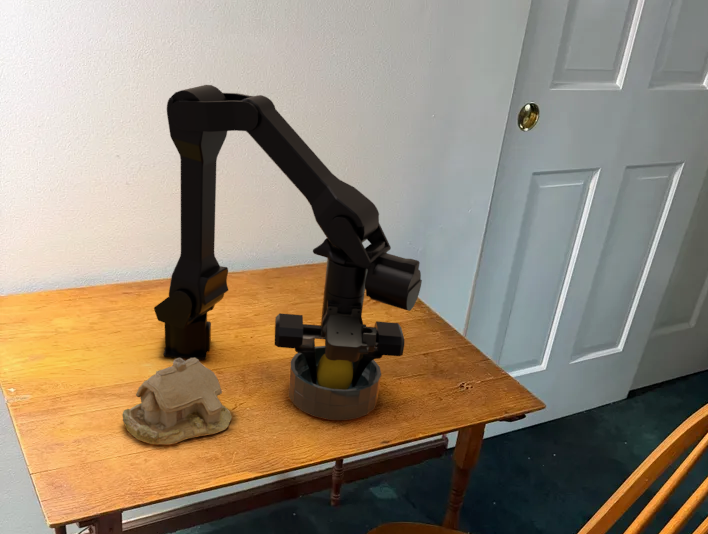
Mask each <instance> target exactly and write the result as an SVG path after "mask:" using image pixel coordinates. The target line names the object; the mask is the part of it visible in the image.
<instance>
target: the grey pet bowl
mask: <svg viewBox="0 0 708 534" xmlns="http://www.w3.org/2000/svg"><path fill="white" fill-rule="evenodd" d="M324 354H325V345H319V346H316V345H315V356H316V374H317V366H318V363H319V361H320V359H321V357H322V356H323V355H324ZM354 363H355V362H352V364H353V368H354ZM289 365H290V366H289V377H288V398H289V399H290V401H291V403H292V404H293V405H294V406H295V407H296V408H298V409H299V410H300V411H302V412H304V413H306V414H308V415H310V416H312V417H315V418H319V419H324V420H330V421H347V420H349V421H350V420H356V419H359V418H362V417H365V416H367V415H368V414H369V413H370V412H371V413H372V411H373V410H374V409H375V408H376V406H377V403H378V399H379V392H380V385H381V380H382V371H381V367H380V365H379V364H378V363H377V361H376V359H374V360H372V361H371V362H370V363H369V364H368V365H367V367H366V368H365V370H364V371H363V373H362V375H361V376H360V378H359V380H358V382H357V384H356V385H355V387H352V384H351V385H350V386H349V388H348V389H346V390H345V389H331V388H326V387H322V386H319V384H318V382H317V379H316V384H314V383H313V382H312V378H311V374H310V370H309V367H308V363H307V361H306V359H305V357H304V355H303V354H302V353H297V352H296V353H295V354H294V355H293V357H292V358H291V359H290V364H289ZM351 383H352V382H351Z"/></svg>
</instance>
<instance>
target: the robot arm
mask: <svg viewBox="0 0 708 534" xmlns="http://www.w3.org/2000/svg"><path fill="white" fill-rule="evenodd" d="M166 117H167V124H168V130H169V136H170V138H171V140H172V143H173V145H174V146H175V148H176V151H177V152H178V155H179V158H180V254H179V258H178V260H177V262H176V264H175V266H174V269H173V272H172V273H171V277H170V283H169V287H168V288H169V290H168V296H167V297H166V298H164V299H163V300H162V301H160V302H159V303H158V304H157V305H155V306H154V307H153V310H154V313H155V316H156V320H157V321H158V322H161V323H164V350H163V358H166V359H177V358H182V359H183V360H188V359H190V358H197V359H198V360H199V361H205V360H207V355H208V353H209V352H210V351H211V345H212V323H211V321H208V313H209V312H210V311H212V310H214V308H215V305H216V304H218V303H219V302H221V300H223V299H224V296H225V294H226V293H227V292H229V286H228V281H227V280H228V274H229V268H228V267H227V266H222V265H220V263H219V262H218V260H217V257H216V255H215V238H216V200H217V199H216V197H217V195H216V194H217V160H218V157H219V154H220V152H221V150H222V147H223V145H224V143H225V140H226V139H227V135H228V132H233V131H237V132H238V131H239V132H246V133H247V134H248V135H249V136H250V137H251V138H252V140H253V141H254V142H255V143H256V144H257V145H258V146H259V147H260V149H262V150H263V152H264V153H265V154H266V155H267V156H268V157H269V158H270V159H271V161H272V162H273V163H274V164H275V165H276V167H278V168H279V169H280V171H281V172H282V173H283V175H285V176H286V177H287V179H288V180H289V181H290V182H291V183H292V184H293V186H294V187H295V188H296V189H297V190H298V191H299V192H300V193H301V194H302V196H304V198H305V199H306V200H307V202H308V204H309V205H310V207H311V210H312V214H313V217H314V220H315V222H316V223H317V225H318V227H319V228H320V230H321V231H322V233H323V234H324V235H325V237H326V238H325V239H324V241H322V243H320V244H319V245H317V246H316V247H314V248H313V249H312V253H313V255H315V256H316V255H317V256H320V257H322V258H325V259H326V258H327V259H326V268H325V270H326V271H325V277H324V287H323V296H322V297H323V298H322V306H321V307H322V309H321V317H320V318H321V319H320V324H307V323H304V318H303V317H304V316H303V314H292V313H280V312H279V313H278V314H277V315H276V316H275V318H274V319H275V320H274V346H275V347H277V348H283V349H284V348H285V349H294V351H295V353H296V354H297V353H302V354H303V355H304V357H305V359H306V361H307V363H308V367H309V370H310V374H311V378H312V382H313V383H314V384H316V379H317V374H316V356H315V347H316V343H315V340H324V346H325V356H326V358H327V359H329V360H334V361H335V360H347V361H349V362H355V363H354V368H353V379H352V383H351V384H352V387H355V385H356V384H357V382H358V380H359V378H360V376H361V375H362V373H363V371H364V370H365V368H366V367H367V365H368V364H369V363H370V362H371V361H372V360H376V359H378V360H379V359H380V360H381V359H382V357H383V356H387V357H388V356H391V357H402V356H403V355H404V350H405V336H404V333H403V329H402V326H401V325H400V324H399V322H388V321H378V320H377V321H375V323H374V326H367V324H364V321H363V317H362V316H363V308H364V300H365V296H366V297H369V299H370V300H372V301H375V302H378V303H381V304H385V305H388V306H391V307H393V308H394V307H395V308H398V309H401V310H405V311H407V312H410V311H412V310H413V308H414V306H415V305H416V304H417V300H418V297H419V295H420V292H421V287H422V281H423V280H422V274H421V272H422V271H421V270H420V264H421V263H420V261H419V260H417V259H413V258H405V257H402V256H398V255H395V254H391V253H388V252H389V251H390V250H391V245H390V243H389V240H388V239H387V237H386V234H385V232H384V230H383V228H382V226H381V224H380V213H379V210H378V208H377V206H376V204H374V202H372V200H370V199H369V198H368V197H367V196H366V195H364V194H363V193H362V192H361V191H359V190H358V189H357V188H356V187H355V186H353V185H351V184H349V183H347V182H345V181H343V180H341V179H339V177H337V176H336V175H335V174H333V172H332V171H331V170H330V169H329V168H328V167H327V166H326V165H325V163H324V162H323V161H322V160H321V159H320V158H319V156H317V154H316V153H315V152H314V151H313V150H312V149H311V147H310V146H309V145H308V144H307V143H306V142H305V141H304V140H303V139H302V138H301V136H300V135H299V134H298V133H297V131H296V130H295V129H294V128H293V127H292V126H291V125H290V124H289V123H288V121H287V120H286V119H285V118H284V117H283V116H282V115H281V114H280V112H279V111H278V110H277V108H276V106H275V104H274V102H273V101H272V100H271V99H270V98H269V97H267V96H265V95H262V94H258V95H248V94H244V93H238V92H222V90H220V89H219V88H218V87H216V86H214V85H213V84H202V85H198V86H194V87H190V88H185V89H181V90H179V91H176V92H174V93H173V94H172V95H171V96H170V97H169V98H168V99H167V103H166ZM366 241H368V242H369V243H370V244H368V245H367V246H366V247H365V246H364V242H366Z"/></svg>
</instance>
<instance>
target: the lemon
mask: <svg viewBox="0 0 708 534" xmlns="http://www.w3.org/2000/svg"><path fill="white" fill-rule="evenodd" d="M352 379H353V364H352V362H349V361H347V360H335V361H334V360H329V359H327V358H326V356H325V354H324V355H323V356H322V357H321V359H320V361H319V363H318V366H317V382H318V384H319V386H322V387H326V388H331V389H345V390H346V389H348V388H349V386H350V385H351V382H352Z"/></svg>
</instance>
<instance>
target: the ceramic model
mask: <svg viewBox="0 0 708 534" xmlns="http://www.w3.org/2000/svg"><path fill="white" fill-rule="evenodd" d="M222 393H223V390H222V387H221V385H220V382H219V379H218V377H217V375H216V374H215V371H213V370H211V369H210V368H208V367H206V366H205V365H204V364H203V363H202V362H201V361H200V360H198V359H197V358H190V359H182V358H174V359H173V362H172V365H171V366H167V367H165V368H163V369H159V370H156V371H155V373H154V374H153V375H151V376H149V378H148V379H146V380H144V381H143V382H142V383H141V385H140V386H139V387H138V389H137V391H136V393H135V396H136V397H137V398H140V402H141V403H140V402H139V403H137V404H136V405H134V406H133V407H130V408H127V409H123V411H122V413H121V414H122V415H121V416H122V422H123V424H124V425H125V428H126V431H127V432H128V433H129V435H131V436H132V437H134V438H135V439H136V440H138V441H141V442H144V443H147V444H150V445H172V444H177V443H180V442H183V441H185V440H187V439H193V438H197V437H202V436H203V437H204V436H207V435H209V436H210V435H214V434H217V433H219V432H222V431H225V430H227V428H229V425H230V422H231V421H232V414H231V411H230V410H229V409H228V407H226V406H225V405H223V403H222V402H221V400H220V399H219V397H218V396H220V395H222Z"/></svg>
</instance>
